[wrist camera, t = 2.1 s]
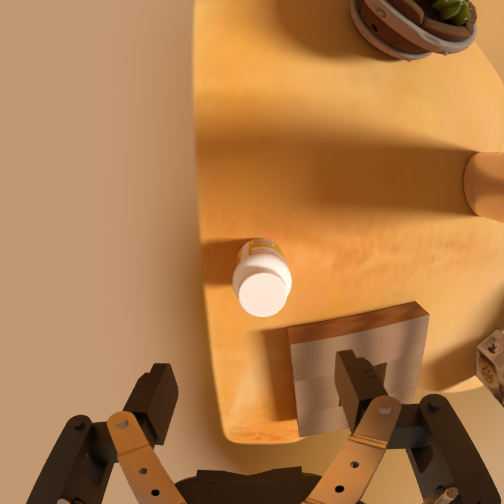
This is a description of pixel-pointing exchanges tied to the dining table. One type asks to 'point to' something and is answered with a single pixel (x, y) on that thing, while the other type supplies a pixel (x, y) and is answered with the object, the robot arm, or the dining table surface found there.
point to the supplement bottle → (261, 278)
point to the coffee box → (492, 364)
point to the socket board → (363, 345)
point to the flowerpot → (415, 26)
